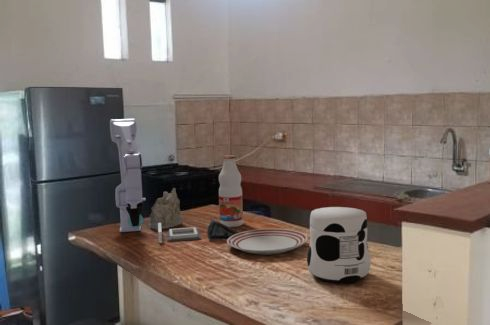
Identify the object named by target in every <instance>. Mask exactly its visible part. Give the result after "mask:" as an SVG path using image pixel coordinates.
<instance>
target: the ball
mask: <svg viewBox="0 0 490 325" xmlns="http://www.w3.org/2000/svg"><path fill="white" fill-rule="evenodd" d="M143 223H144V217H143V216H142V214H141V213H140V217H139V225H138V226H132V223H131V219H130V216H129V217H128V224H129V225H130V226H131V227H132V228H138V227H140V226H141V227H142V225H143Z"/></svg>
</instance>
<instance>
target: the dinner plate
mask: <svg viewBox="0 0 490 325" xmlns="http://www.w3.org/2000/svg"><path fill="white" fill-rule="evenodd" d="M308 240H309V237H308V235H307V234H306V233H304V232H302V231H298V230H294V229H287V228H258V229H250V230H246V231H245V230H244V231H242V232H239V233H237V234H235V235H232V236H231V237H229V238H228V239H227V240H226V243H227V245H228V246H230V247H232V248H234V249H236V250H238V251H242V252H245V253H248V254H253V255H264V256H265V255H266V256H267V255H268V256H269V255H270V256H271V255H277V254H284V253H287V252H289V251H292V250H294V249H297V248H299V247H301V246H303V245H304V244H306V243H307V242H308Z"/></svg>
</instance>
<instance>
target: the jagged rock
mask: <svg viewBox="0 0 490 325" xmlns="http://www.w3.org/2000/svg"><path fill="white" fill-rule="evenodd" d="M180 203H181V200H180V199H179V198H178V194H177V192H176V187H174V188H172V190H171V192H168V191H163V195H162V197H159V198H158V197H157V199H156V201H155V203H154V204H153V206H152V207H151V208H150V209H151V212H150V215H149V217H150V219H149V222H148V225H147V228H149V229H151V228H152V229H154V230H158V223H161V229H162V230H164V229H170V227H171V228H175V227H177V226H180V225H182V224H183V219H182V214H181V209H180ZM174 226H175V227H174Z"/></svg>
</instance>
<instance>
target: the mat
mask: <svg viewBox="0 0 490 325" xmlns="http://www.w3.org/2000/svg"><path fill="white" fill-rule="evenodd" d="M166 239H167V243H168V242H169V243H170V241H171V242H182V241H194V240H195V241H197V240H202V237H201V234H200V231H199V229H197V227H196V226H195V227H179V228H168V231H166Z"/></svg>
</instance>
